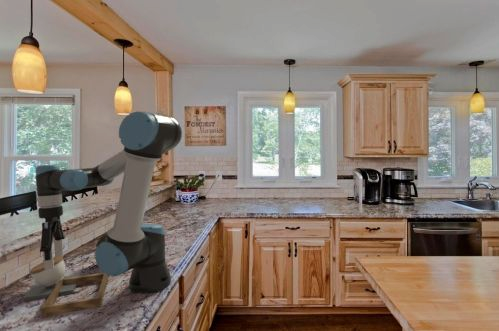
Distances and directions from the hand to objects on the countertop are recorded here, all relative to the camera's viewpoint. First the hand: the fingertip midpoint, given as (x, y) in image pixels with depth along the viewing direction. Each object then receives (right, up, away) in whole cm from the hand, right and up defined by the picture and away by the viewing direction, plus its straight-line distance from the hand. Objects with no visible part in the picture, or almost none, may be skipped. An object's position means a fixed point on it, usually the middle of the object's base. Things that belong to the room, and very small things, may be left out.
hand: (54, 262), depth 110 cm
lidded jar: (0, -8, +1) cm, 8 cm away
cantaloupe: (+11, -9, +24) cm, 28 cm away
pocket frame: (+13, -10, -6) cm, 17 cm away
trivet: (0, -10, +1) cm, 10 cm away
